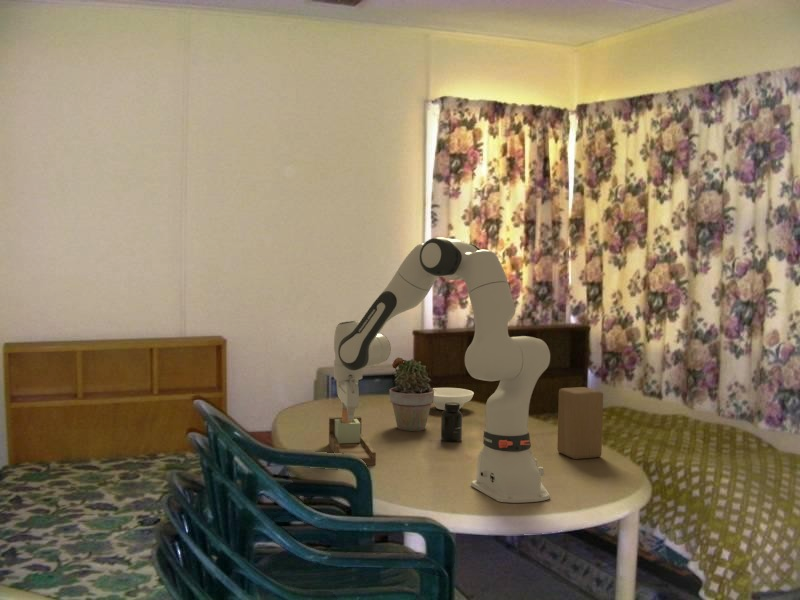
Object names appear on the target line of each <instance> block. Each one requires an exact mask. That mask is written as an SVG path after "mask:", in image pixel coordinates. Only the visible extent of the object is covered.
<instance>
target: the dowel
mask: <svg viewBox="0 0 800 600" xmlns="http://www.w3.org/2000/svg"><path fill="white" fill-rule="evenodd" d="M341 417H342V423H352V421H348V420H347V409H342V408H341Z"/></svg>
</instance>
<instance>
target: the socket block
mask: <svg viewBox="0 0 800 600" xmlns="http://www.w3.org/2000/svg"><path fill="white" fill-rule="evenodd" d="M360 433H361V434H362V422H361V423H360V422H359V421H358V419H354V420H353V421H352V423H342V419H335V439H336V440H337V442H338V444H341V443H360Z"/></svg>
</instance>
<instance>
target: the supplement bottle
mask: <svg viewBox="0 0 800 600" xmlns="http://www.w3.org/2000/svg"><path fill="white" fill-rule="evenodd" d="M440 417H441V420H440V421H441V422H440V423H441V425H440V438H441V440H442V441H444V442H449V443H457V442H460V441H462V440H463V439H462V438H463V436H462V435H463V413H462V412H461V411H460V404H459V403H455V402H448V403H445V410H443V411H442V412H441V416H440Z"/></svg>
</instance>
